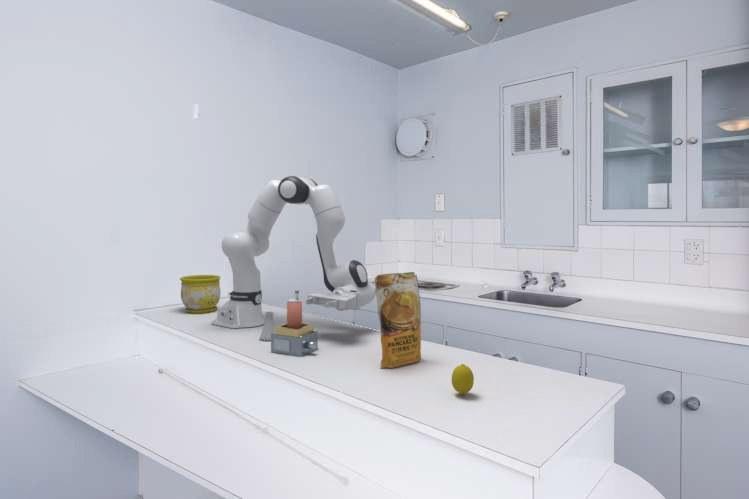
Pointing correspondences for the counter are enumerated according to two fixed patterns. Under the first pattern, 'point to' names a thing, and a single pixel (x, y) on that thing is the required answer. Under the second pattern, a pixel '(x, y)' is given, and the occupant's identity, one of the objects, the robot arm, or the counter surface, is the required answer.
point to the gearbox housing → (294, 340)
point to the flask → (268, 327)
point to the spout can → (294, 312)
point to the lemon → (462, 379)
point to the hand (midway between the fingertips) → (315, 303)
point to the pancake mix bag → (399, 318)
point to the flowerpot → (200, 293)
